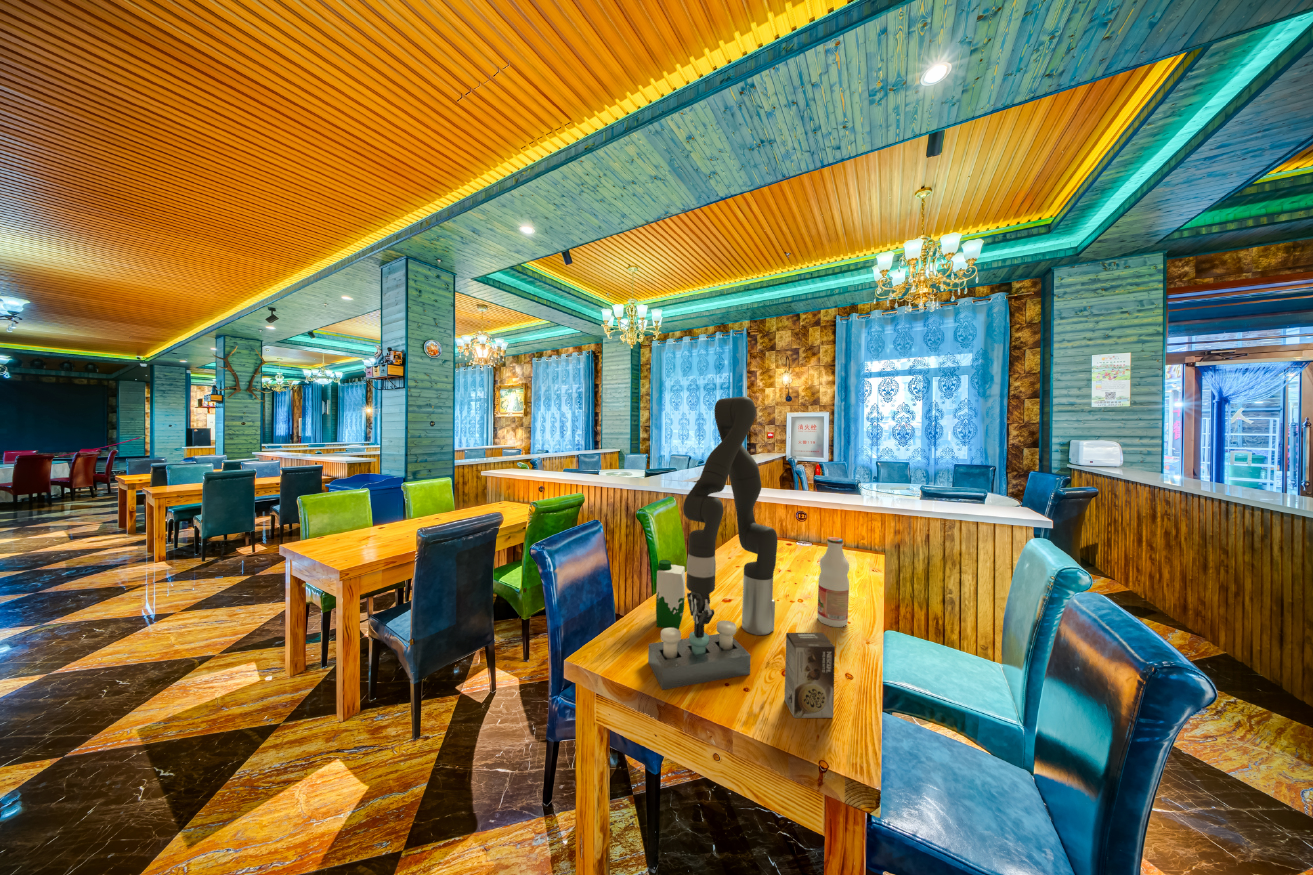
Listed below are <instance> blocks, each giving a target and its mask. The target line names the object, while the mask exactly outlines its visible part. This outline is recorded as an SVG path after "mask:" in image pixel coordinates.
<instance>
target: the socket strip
mask: <svg viewBox="0 0 1313 875" xmlns="http://www.w3.org/2000/svg"><path fill="white" fill-rule="evenodd" d="M719 634H720V633H716V634H708V635H709V644H708V645H707V646H706V651H705V654H699V655H694V654H693V653H692V645H691V644H690V642H689V637H687V638H681V640H680V641H679V642H678V645H677V658H674V659H666V658H664V656H663V646H664V642H663V641H660V642H659V641H658V642H652V643H648V656H647V659H648V660H647V663H648V665H649V667H650V668H651V671H652V673H653V674H654V676H655V678H656V681H657V682H658V684H659V686H660V688H661V690H662V691H665V690H669V689H670V690H671V689H675V688H680V687H686V686H691V685H697V684H704V683H710V682H713V681H719V680H725V679H730V678H737V677H741V676H747V675H750V674H751V657H752V656H751V654H750V653H749V652H748V651H747V649H745V648H744V647H743V645H742V644H741V643H739V641H738V640H736V639H735V637H733V648H732V649H731V650H722V649H720V648H719Z"/></svg>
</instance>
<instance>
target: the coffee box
mask: <svg viewBox="0 0 1313 875" xmlns="http://www.w3.org/2000/svg"><path fill="white" fill-rule="evenodd" d="M785 635H786V636H785V666H784V667H785V669H784V670H785V671H784V672H785V673H784V702H785V704H786V706H787V707H788V709H789V712H790V713H791V715H792V717H793V718H794V719H810V718H811V719H815V718H818V719H819V718H821V719H823V718H824V719H825V718H827V719H828V718H831V719H832V718H834V710H835V708H834V706H835V705H834V702H835V701H834V700H835V699H834V698H835V697H834V696H835V695H834V694H835V664H836V663H835V662H836V661H835V660H836V659H835V657H836V655H835V654H836V646H835V645H834V644H833V643H832V642H831V641H830V639H829V638H828V637H827V636H826V635H825V633H824V632H786V634H785Z"/></svg>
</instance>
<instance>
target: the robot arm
mask: <svg viewBox="0 0 1313 875" xmlns="http://www.w3.org/2000/svg"><path fill="white" fill-rule="evenodd" d="M713 411H714V419H715V420H714V421H715V424H716V427H717V431H718V434H719V437H720V440H721V442H720V443H719V444H718V445H717V446H716V447H715V448H714V449H713V450H712V451H711V452H710V454H709V455H708V457H707V458H706V461H705V463H704V466H703V469H702V471H701V474H700V477H699V478H698V479H697V481H696V483H695V484H694V486H692V488H691V490H690V491H689V492H688V494H687V495H686V496H685V499H684V501H683V505H682V506H683V507H682V511H683V515H684V517H685V518H686V519H687V520H689V521H693V522H699V523H704V527H703V529H695V530H692V531H691V532H690V533H689V535H688V554H687V560H686V579H685V588H686V589H687V590H688V591H690V592H686V598H687V601H688V602H687V603H688V608H689V612H690V616H691V617H692V620H693V622H694V623H693V624H694V626H693V627H694V628H693V632H694V635H695V636H696V637H697V638H700V637H703V636H704V632H705V625H709V623H710V622H711V620H712V619H713V617H714V616H715V610H714V609H711V606H710V604H711V598H710V595H711V593H713V592H714V591H715V589H716V570H717V566H716V564H717V562H716V541H717V540H716V539H717V535H718V532H719V528H720V526H721V522H722V519H723V516H724V512H725V511H724V510H725V509H724V504H723V502H722V501H721V499H720V498H718V497H716V496H710V495H711V494H714V493H715V494H716V493H720V492H723V490H724V489H725V487H726V485H727V484H726V483H727V481H728V478H729V480H730V487H731V491H732V495H733V500H734V506H735V512H736V520H737V521H736V522H737V531H738V540H739V543H740V546H741V548H742V549H743V550H745V551H746V552H750V553H753V554H756V556H757V558H756V560H755V561H749V562H747V563H745V564H744V566H743V579H742V580H743V582H742V583H743V584H742V586H743V587H742V607H741V608H742V609H741V611H742V612H741V613H742V614H741V628H742V629H743V631H745V632H747V633H749V634H752V635H756V636H766V635H769V634H770V633H771V632H773V631H775V614H776V613H775V611H776V600H774V599H773V598H774V594H773V593H774V572H775V569H776V565H777V564H776V562H777V552H778V534H777V532H776V530H775V528H773V527H772V526H771V527H770V526H767V525H763V524H758V523H757V522H756V519H755V514H754V513H755V512H754V509H755V508H754V507H755V506H756V505H755V504H756V503H757V501H758V498H759V496H760V494H761V490H762V479H761V474H760V469H759V465H758V463H757V462H756V460H755V458H754V457H753V456H752V455H751V454H750V453H749V451H748V450H747V449H746V448H745V447H744V446H743V443H744V442H745V440H746V438H747V436H748V434H749V431H750V430H751V428H752V425H753V423H754V422H755V419H756V418H755V417H756V404H755V402H754V400H753V399H752V398H750V397H748V396H736V397H725V398H721V399H718V400H717V401H716V403H715V405H714V410H713Z"/></svg>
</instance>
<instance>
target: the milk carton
mask: <svg viewBox="0 0 1313 875" xmlns="http://www.w3.org/2000/svg"><path fill="white" fill-rule="evenodd" d="M685 594H686V573H685V566H683V565H677V564H672V561H670V560H668V559H660V560H659V561H658V567H657V571H656V597H655V598H656V599H655V615H656V616H655V618H656V628H662V629H664V628H676V629H678V630H680V627H681V623H682V620H683V617H684V616H683V615H684V612H685V611H684V610H685V600H686V599H685Z"/></svg>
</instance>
